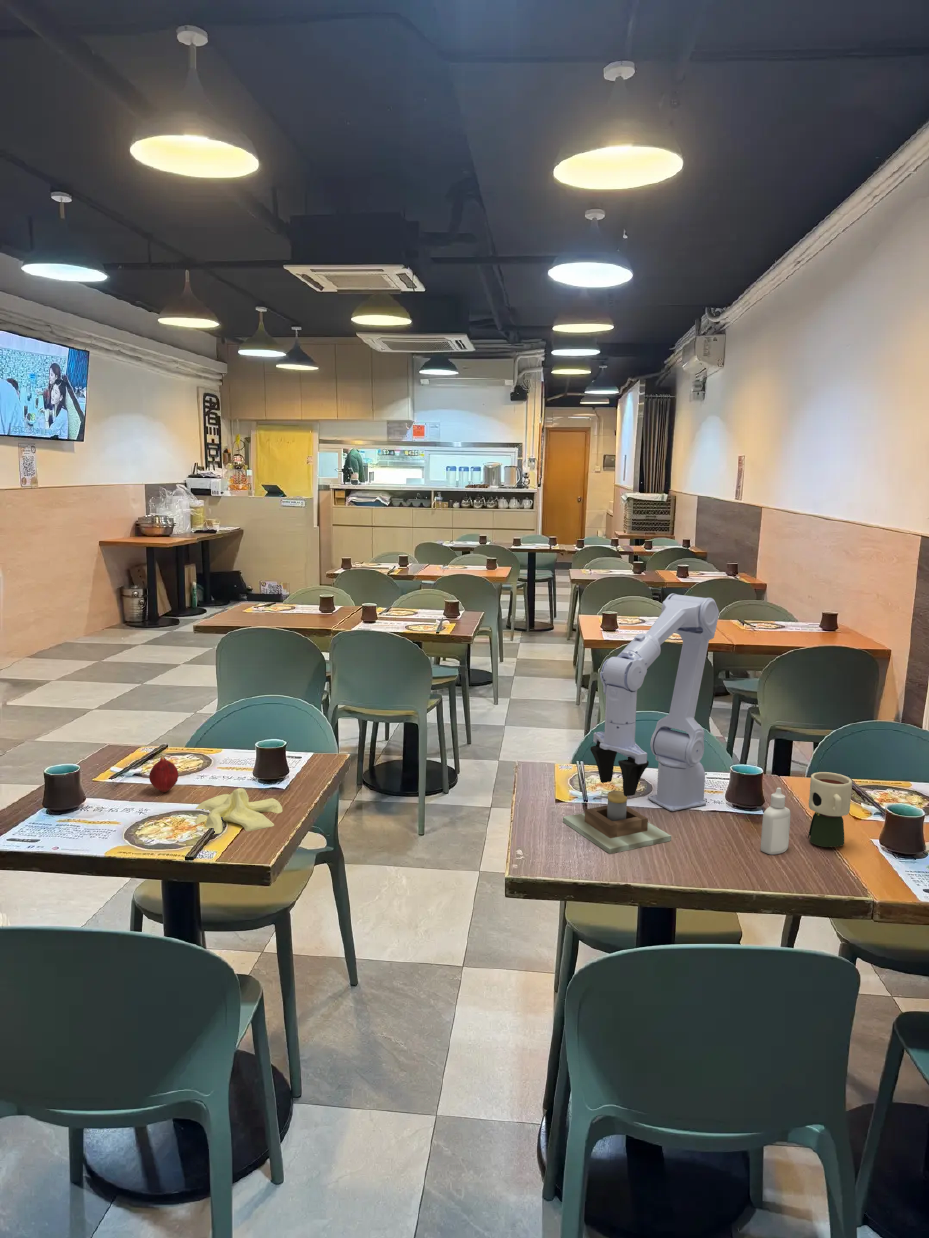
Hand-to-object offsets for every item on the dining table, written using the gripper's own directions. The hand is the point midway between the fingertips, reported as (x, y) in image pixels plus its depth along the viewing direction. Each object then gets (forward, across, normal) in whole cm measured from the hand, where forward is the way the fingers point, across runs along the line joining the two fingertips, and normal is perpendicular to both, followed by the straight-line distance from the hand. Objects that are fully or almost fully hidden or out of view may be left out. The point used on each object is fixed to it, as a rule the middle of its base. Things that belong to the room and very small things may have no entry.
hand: (617, 788), depth 161 cm
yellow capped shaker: (+9, 0, 0) cm, 9 cm away
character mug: (+9, +21, +33) cm, 40 cm away
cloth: (+9, -36, -66) cm, 76 cm away
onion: (+9, -56, -77) cm, 96 cm away
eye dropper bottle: (+9, +19, +22) cm, 30 cm away
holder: (+9, 0, 0) cm, 9 cm away
